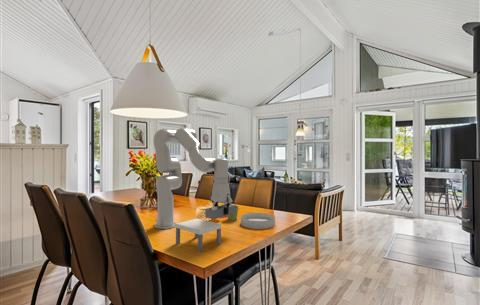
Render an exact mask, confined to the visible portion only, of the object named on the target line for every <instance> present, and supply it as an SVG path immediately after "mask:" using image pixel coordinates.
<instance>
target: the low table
mask: <svg viewBox="0 0 480 305" xmlns="http://www.w3.org/2000/svg"><path fill="white" fill-rule="evenodd" d="M181 230H183V231H187V232H189V233H193V234H194V238H195V239H197V252H199V253H201V252H203V249H204V248H203V240H204V239H203V235H204V234H207V233H211V232H213V231H216V245H218V246H220V245H222V224H221V223H218V222H212V221H209V220H207V219H206V220H205V219H201V218H193V219H188V220H185V221H181V222H178V223H177V222H176V226H175V244H176V245H179V244H181Z"/></svg>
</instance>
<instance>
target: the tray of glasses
mask: <svg viewBox="0 0 480 305" xmlns="http://www.w3.org/2000/svg"><path fill="white" fill-rule="evenodd" d="M236 206H237V205H236V204H233V203H231V205H230V206H229V208H228V214H227V215H231V214H234V213H236ZM224 207H225V206H224V204H221V205H219V206H214V205H212V206H211V207H209V208H207V207H206V208H205V209H204V211H205V212H204V214H205V215H204V217H205V218H206V219H210V220H211V219H212V220H216V219H219V218H223V217H224V218H225V217H228V216H227V215H224Z"/></svg>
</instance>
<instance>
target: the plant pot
mask: <svg viewBox="0 0 480 305" xmlns="http://www.w3.org/2000/svg"><path fill="white" fill-rule="evenodd" d="M239 209H240V206H239V205H236V213H234V214H231V215H227V216H226V217H227V220H229V221H236V220H237V219H238V214H239V212H238V211H239Z"/></svg>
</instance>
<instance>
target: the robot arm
mask: <svg viewBox="0 0 480 305" xmlns="http://www.w3.org/2000/svg"><path fill="white" fill-rule="evenodd" d="M197 135H198V134H197V133H196V131H195V129H192V128H187V127H179V128H178V129H169V128H163V129H159V130H157V131H156V132H155V134H154V135H153V145H154V150H155V159H156V160H155V161H156V168H157V171H158V172H159V173H161V174H164V175H161V176H158V177H157V179H156V181H155V187H156V188H155V189H156V192H157V218H155V222H156V223H155V224H154V228H155V229H157V230H159V229H160V230H167V229H173V228H176V224H177V222H176V223H175V222H174V211H175V210H174V203H175V202H174V194H173V192H172V190H176V189H180V187H182V183H183V176H182V174H183V172H182V166H181V161H180V160H179V159H178V158H176V157H172V156H171V151H170V148H169V146H168V145H167V144H180V145H181V146H182V147H183V149H185V150H186V151H187V152H188V157H189V158H188V159H189V160H190V162H191V164H192V165H193V166H194V167H195V168H196V169H197V170H198V171H199V172H202V173H207V172H214V175H213V176H214V178H213V181H214V182H213V184H212V189H211V196H210V200H211V202H212V206H220V205H219V203H223V205H224V206H225V207H224V215H227V214H228V208H229V206H230V205H231V204H233V199H232V197H231V192H230V190H231V189H230V184H229V160H228V159H227V158H215V157H204V156H203V155H202V154H201V153H200V152H199V149H200V148H201V142H199V141H198V140H197V137H198V136H197Z"/></svg>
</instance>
